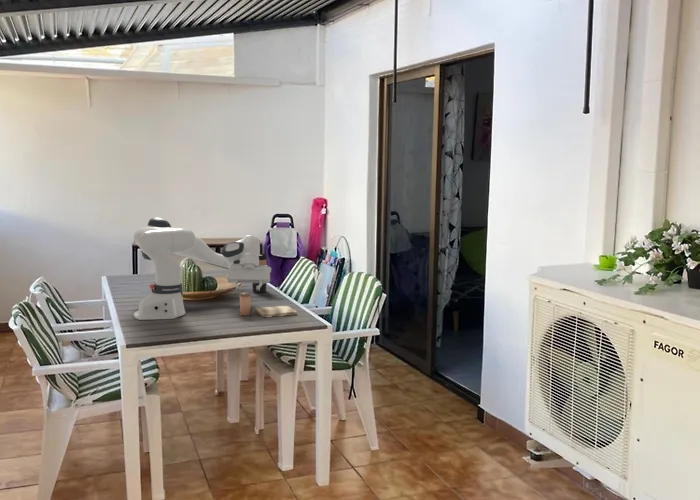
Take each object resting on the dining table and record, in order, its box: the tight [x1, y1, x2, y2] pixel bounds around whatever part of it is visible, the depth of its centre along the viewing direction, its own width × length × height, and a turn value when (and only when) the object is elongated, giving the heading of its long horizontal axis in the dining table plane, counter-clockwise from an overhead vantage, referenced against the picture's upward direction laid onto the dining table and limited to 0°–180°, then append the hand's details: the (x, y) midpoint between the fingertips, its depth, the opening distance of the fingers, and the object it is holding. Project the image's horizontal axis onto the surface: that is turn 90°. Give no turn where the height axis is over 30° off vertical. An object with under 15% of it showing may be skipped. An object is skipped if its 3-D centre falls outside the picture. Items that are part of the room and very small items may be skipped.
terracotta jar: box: [239, 291, 252, 317], centre depth 297 cm, size 5×5×10 cm
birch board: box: [255, 305, 298, 318], centre depth 302 cm, size 16×13×2 cm
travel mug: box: [251, 253, 267, 294], centre depth 347 cm, size 8×8×20 cm
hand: (247, 289), depth 304 cm, fingers open, 8 cm apart
